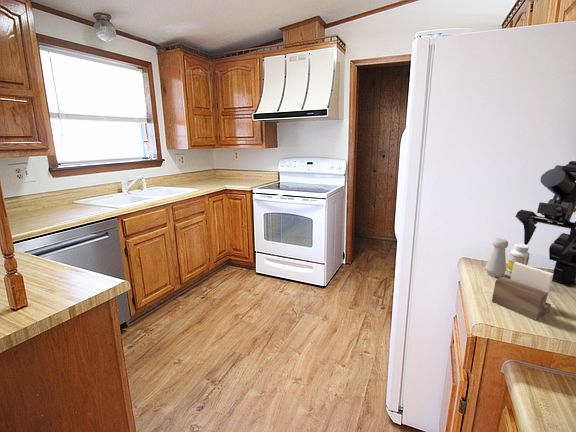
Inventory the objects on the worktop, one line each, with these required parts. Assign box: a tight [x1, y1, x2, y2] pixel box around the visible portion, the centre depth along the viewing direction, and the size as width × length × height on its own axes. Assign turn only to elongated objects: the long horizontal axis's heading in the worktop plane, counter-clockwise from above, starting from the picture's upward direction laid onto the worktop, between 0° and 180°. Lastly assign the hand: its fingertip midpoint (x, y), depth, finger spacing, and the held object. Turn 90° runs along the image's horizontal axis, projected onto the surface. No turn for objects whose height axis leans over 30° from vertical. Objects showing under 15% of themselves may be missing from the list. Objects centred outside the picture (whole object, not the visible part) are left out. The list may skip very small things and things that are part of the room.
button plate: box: [510, 262, 553, 301], centre depth 89 cm, size 2×9×8 cm, turn 32°
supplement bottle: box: [506, 243, 530, 273], centre depth 109 cm, size 5×5×10 cm
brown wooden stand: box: [491, 276, 552, 321], centre depth 88 cm, size 8×11×7 cm
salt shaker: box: [485, 238, 509, 279], centre depth 106 cm, size 6×6×13 cm
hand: (542, 249), depth 92 cm, fingers open, 9 cm apart
